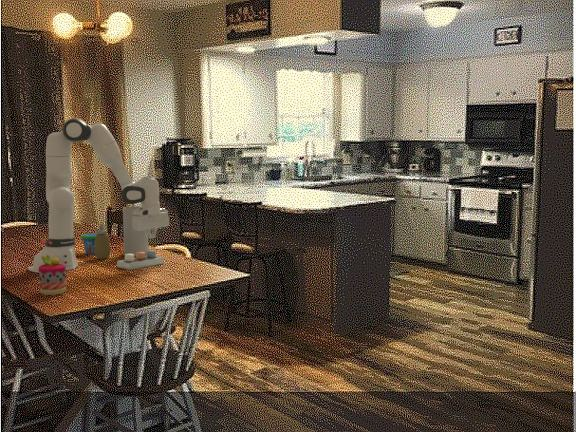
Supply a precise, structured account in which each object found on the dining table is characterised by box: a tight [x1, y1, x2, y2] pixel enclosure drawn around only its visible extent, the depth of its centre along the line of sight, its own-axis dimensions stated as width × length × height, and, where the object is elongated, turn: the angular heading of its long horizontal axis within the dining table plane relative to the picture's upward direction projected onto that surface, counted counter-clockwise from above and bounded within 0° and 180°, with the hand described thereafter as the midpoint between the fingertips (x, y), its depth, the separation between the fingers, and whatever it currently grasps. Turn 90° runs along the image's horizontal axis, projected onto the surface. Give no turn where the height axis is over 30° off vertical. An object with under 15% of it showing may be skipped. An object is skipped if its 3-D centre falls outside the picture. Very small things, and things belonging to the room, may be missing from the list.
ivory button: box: [124, 254, 135, 262], centre depth 303 cm, size 4×4×3 cm
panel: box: [116, 255, 165, 271], centre depth 308 cm, size 20×10×3 cm, turn 140°
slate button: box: [146, 249, 157, 258], centre depth 313 cm, size 4×4×3 cm
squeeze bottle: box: [94, 223, 111, 260], centre depth 324 cm, size 8×8×18 cm
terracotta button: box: [135, 252, 146, 260], centre depth 308 cm, size 4×4×3 cm
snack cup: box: [80, 232, 97, 255], centre depth 337 cm, size 16×10×10 cm
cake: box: [38, 255, 68, 296], centre depth 254 cm, size 10×11×15 cm
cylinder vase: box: [122, 205, 149, 257], centre depth 335 cm, size 12×12×25 cm
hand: (151, 237), depth 312 cm, fingers closed
